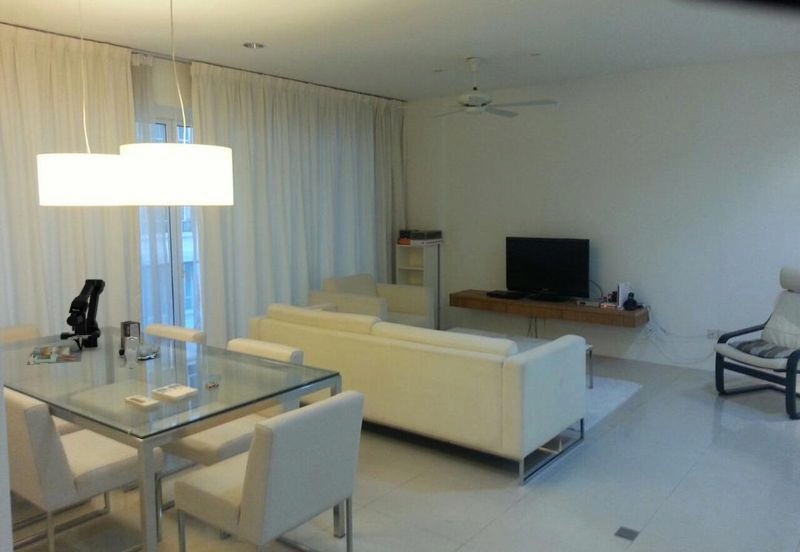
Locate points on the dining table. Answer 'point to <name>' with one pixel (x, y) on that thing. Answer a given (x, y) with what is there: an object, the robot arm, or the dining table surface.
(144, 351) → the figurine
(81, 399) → the dining table surface
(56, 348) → the beige slab
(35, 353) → the bench stop
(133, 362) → the beer glass
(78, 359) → the mat
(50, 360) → the tray
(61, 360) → the socket
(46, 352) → the dowel
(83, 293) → the robot arm
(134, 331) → the coffee box
